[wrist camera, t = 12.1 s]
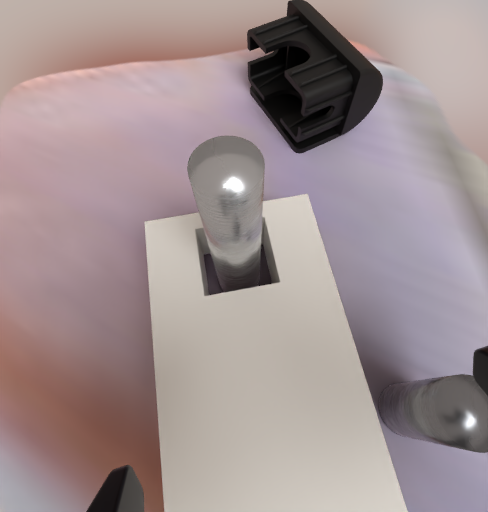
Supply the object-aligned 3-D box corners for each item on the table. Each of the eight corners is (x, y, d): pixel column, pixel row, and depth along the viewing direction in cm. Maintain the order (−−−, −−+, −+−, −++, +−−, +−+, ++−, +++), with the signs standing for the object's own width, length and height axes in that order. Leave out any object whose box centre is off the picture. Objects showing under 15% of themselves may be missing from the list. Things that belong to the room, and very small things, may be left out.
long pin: (257, 299, 24) (260, 200, 12) (215, 294, 24) (180, 194, 12) (261, 260, 25) (267, 138, 13) (221, 257, 25) (194, 133, 14)
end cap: (367, 129, 30) (396, 58, 24) (299, 160, 29) (312, 93, 22) (307, 64, 34) (320, -12, 27) (246, 88, 32) (244, 14, 26)
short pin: (436, 431, 20) (523, 444, 14) (389, 441, 20) (453, 459, 13) (417, 379, 21) (488, 368, 15) (372, 388, 21) (423, 381, 15)
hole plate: (379, 496, 19) (410, 519, 15) (185, 539, 18) (168, 573, 14) (299, 223, 26) (307, 193, 22) (160, 247, 25) (144, 221, 22)
